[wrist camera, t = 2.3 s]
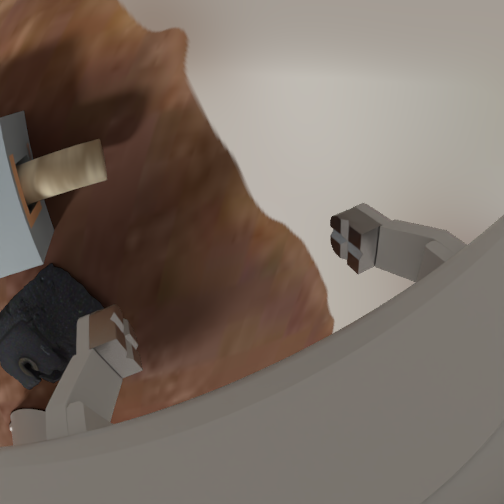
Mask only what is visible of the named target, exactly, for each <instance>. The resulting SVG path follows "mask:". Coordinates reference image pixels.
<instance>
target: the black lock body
mask: <svg viewBox="0 0 504 504" xmlns="http://www.w3.org/2000/svg"><path fill="white" fill-rule="evenodd" d="M101 309H104V307H103V306H102V305H101V303H100V302H98V301H97V300H96V299H95V298H93V297H92V296H90V294H89V293H88V292H87V290H86V289H85V288H84V287H83V285H82V284H80V283H78V282H77V281H76V280H75V279H74V278H72V277H71V275H70V274H69V273H68V272H66V271H64V270H63V269H61V268H58V267H54V266H53V264H49V265H48V266H47V267H46V268H45V269H43V270H41V271H40V272H39V273H38V275H37V276H36V277H35V279H34V280H33V281H30V282H29V283H28V284H27V285H26V286H25V287H24V288H23V289H22V290H21V291H20V292H19V293H18V294H17V295H15V296H14V297H13V299H11V301H10V302H9V303H8V305H6V306H5V308H4V309H3V310H2V311H1V312H0V362H1V366H2V368H3V369H4V370H5V371H6V372H7V373H9V374H10V375H11V376H13V377H14V378H15V379H17V380H18V381H19V382H20V383H21V384H22V385H23V386H24V387H25V388H27V389H28V390H30V389H32V388H33V387H34V386H36V385H38V384H39V382H41V378H43V379H44V380H47V381H49V382H52V383H55V382H56V381H58V380H60V379H61V377H62V375H63V373H64V371H65V370H66V368H67V366H68V364H69V362H70V360H71V359H72V357H73V356H74V355H76V338H77V321H78V319H79V318H81V317H83V316H86V315H88V314H91V313H93V312H96V311H98V310H101Z"/></svg>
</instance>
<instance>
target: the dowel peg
mask: <svg viewBox="0 0 504 504" xmlns="http://www.w3.org/2000/svg"><path fill="white" fill-rule="evenodd" d="M16 169H17V173H18V177H19V181H20V184H21V188H22V191H23V194H24V198H25V201H26V204H27V205H29V204H32V203H35V202H37V201H40V200H43V199H46V198H49V197H52V196H55V195H58V194H61V193H64V192H68V191H71V190H74V189H77V188H81V187H84V186H88V185H91V184H95V183H98V182H102V181H105V180H107V172H106V165H105V159H104V153H103V148H102V144H101V141H100V139H96V140H93V141H89V142H85V143H82V144H79V145H75V146H72V147H69V148H66V149H62V150H59V151H56V152H53V153H50V154H47V155H45V156H42V157H39V158H36V159H33V160H31V161H28V162H25V163H23V164H20V165H18V166H16Z"/></svg>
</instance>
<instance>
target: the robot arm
mask: <svg viewBox="0 0 504 504" xmlns="http://www.w3.org/2000/svg"><path fill="white" fill-rule="evenodd" d="M330 226H331V227H332V228H333V229H334V230H333V232H332V234H331V245H332V248H333V250H334V252H335V253H336V254H337V255H338V256H339V257H340V258H343V259H347V264H348V265H349V266H350V267H351V268H352V269H353V270H354V271H355V272H356V273H357V274H360V273H362V272H364V271H366V270H367V269H370V268H372V267H374V266H376V267H377V268H380V269H382V270H385V271H388V272H390V273H393V274H396V275H398V276H401V277H403V278H406V279H409V280H411V281H414V282H416V283H415V284H413V285H412V286H410V287H409V288H407V289H406V290H404V291H403V292H401V293H400V294H398V295H397V296H395V297H393V298H392V299H390V300H389V301H387V302H386V303H384V304H382V305H381V306H379V307H378V308H376V309H374V310H373V311H371V312H369V313H368V314H366V315H364V316H363V317H361V318H359V319H358V320H356V321H354V322H353V323H351V324H349V325H347V326H346V327H344V328H342V329H340V330H339V331H337V332H335V333H333V334H331V335H330V336H328V337H326V338H324V339H322V340H320V341H318V342H317V343H315V344H313V345H311V346H309V347H307V348H305V349H303V350H301V351H299V352H297V353H295V354H293V355H291V356H289V357H287V358H285V359H283V360H281V361H279V362H277V363H275V364H273V365H271V366H268V367H266V368H264V369H262V370H260V371H258V372H255V373H253V374H251V375H249V376H246V377H244V378H242V379H240V380H237V381H235V382H233V383H230V384H228V385H225V386H223V387H221V388H218V389H216V390H213V391H211V392H208V393H206V394H203V395H201V396H198V397H195V398H193V399H190V400H187V401H185V402H182V403H179V404H176V405H174V406H171V407H168V408H165V409H162V410H159V411H156V412H153V413H150V414H147V415H144V416H141V417H138V418H134V419H131V420H128V421H124V422H121V423H117V424H114V425H113V424H112V423H110V421H111V417H112V414H113V410H114V407H115V403H116V400H117V397H118V393H119V390H120V387H121V383H122V380H123V379H122V378H124V377H127V376H130V375H132V374H135V373H137V372H140V371H142V370H143V368H142V363H141V357H140V354H139V353H138V352H137V351H136V349H137V346H138V342H137V337H136V335H135V332H134V330H133V328H132V326H131V324H130V323H129V321H128V320H126V319H123V316H122V311H121V310H120V308H119V307H118V306H117V305H115V304H114V305H111V306H109V307H106V308H104V309H101V310H98V311H96V312H93V313H91V314H88V315H86V316H83V317H81V318H79V319H78V321H77V338H76V355H74V356H73V357H72V359H71V360H70V362H69V364H68V366H67V368H66V370H65V371H64V373H63V375H62V377H61V379H60V381H59V383H58V385H57V387H56V389H55V391H54V393H53V395H52V397H51V399H50V401H49V403H48V405H47V407H46V412H45V411H41V410H35V409H20V410H16V411H14V412H13V413H12V414H11V416H10V418H11V423H10V425H9V427H10V430H11V431H12V437H13V446H5V447H0V504H504V215H503V216H502V217H501V218H499V219H498V220H497V221H496V222H495V223H494V224H493V225H491V226H490V227H489V228H488V229H487V230H485V231H484V232H483V233H482V234H481V235H479V236H478V237H477V238H476V239H475V240H473V241H472V242H471V243H470V244H468V245H466V244H465V243H464V242H462V241H461V240H460V239H458V238H457V237H455V236H454V235H452V234H451V233H450V232H448V231H447V230H442V229H438V228H433V227H429V226H424V225H419V224H414V223H409V222H404V221H399V220H393V221H392V220H390V219H389V218H387V217H386V216H384V215H383V214H381V213H380V212H378V211H376V210H375V209H373V208H372V207H370V206H369V205H367V204H364V203H362V204H359V205H357V206H355V207H353V208H351V209H349V210H346V211H344V212H341V213H339V214H337V215H334V216H332V217H331V220H330Z"/></svg>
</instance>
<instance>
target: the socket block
mask: <svg viewBox="0 0 504 504" xmlns="http://www.w3.org/2000/svg"><path fill="white" fill-rule="evenodd" d="M31 160H33V156H32V151H31V147H30V142H29V137H28V132H27V126H26V120H25V114H24V111H21V112H17V113H14V114H10V115H7V116H4V117H1V118H0V278H2V277H5V276H8V275H11V274H14V273H17V272H20V271H23V270H26V269H30V268H33V267H36V266H39V265H42V264H44V260H45V257H46V254H47V251H48V248H49V244H50V241H51V239H52V236H53V233H54V228H53V225H52V222H51V219H50V216H49V213H48V210H47V207H46V204H45V201H44V199H43V200H40V201H37V202H35V203H32V204H29V205H27V204H26V201H25V198H24V194H23V191H22V188H21V184H20V181H19V177H18V173H17V169H16V166H18V165H20V164H23V163H25V162H28V161H31Z"/></svg>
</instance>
